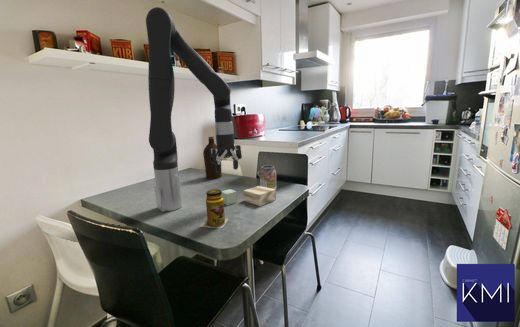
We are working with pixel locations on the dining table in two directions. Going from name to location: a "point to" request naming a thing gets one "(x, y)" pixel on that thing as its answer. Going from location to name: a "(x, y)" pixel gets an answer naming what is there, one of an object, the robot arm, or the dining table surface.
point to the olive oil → (209, 166)
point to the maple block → (259, 195)
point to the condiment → (214, 210)
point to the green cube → (229, 196)
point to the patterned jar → (267, 176)
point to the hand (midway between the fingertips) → (227, 171)
